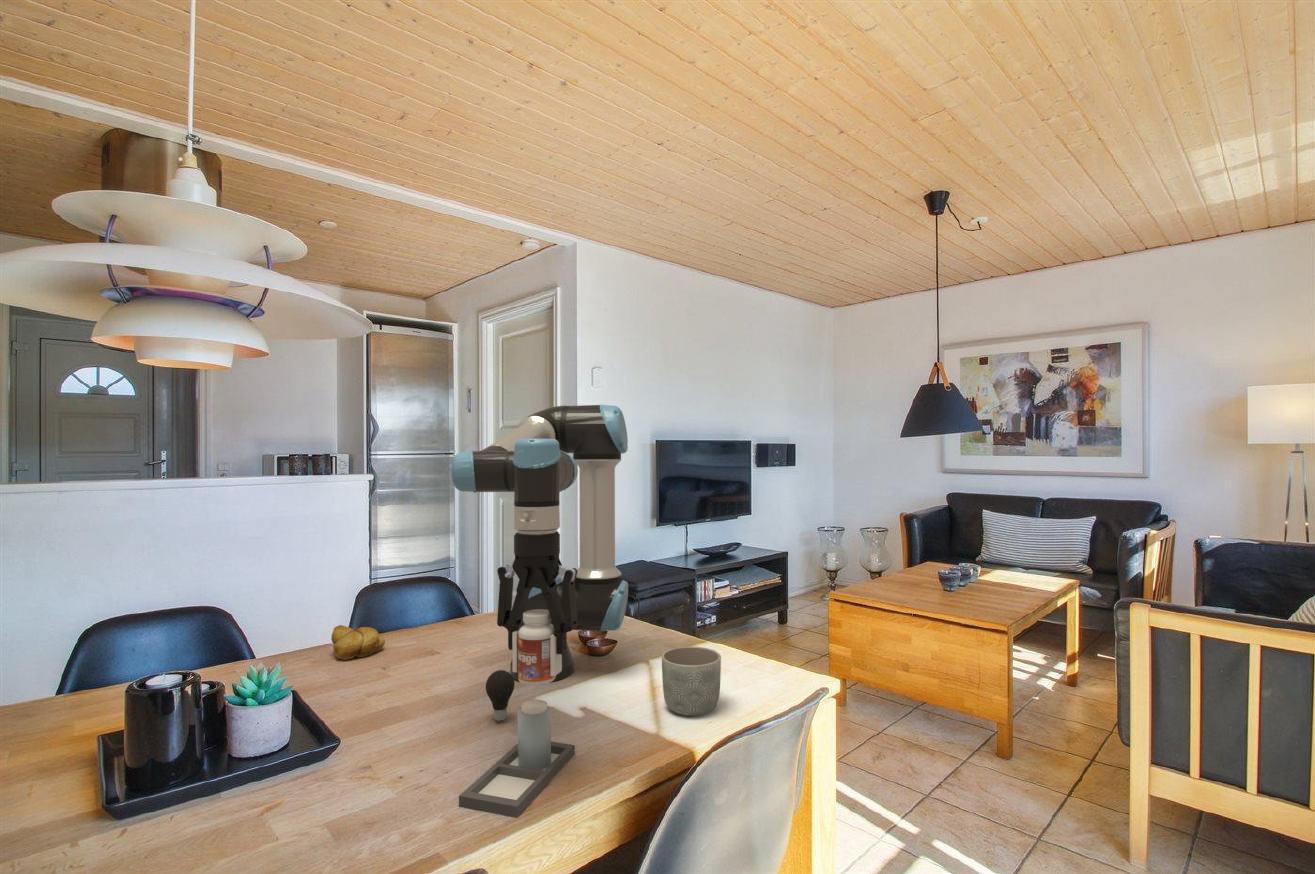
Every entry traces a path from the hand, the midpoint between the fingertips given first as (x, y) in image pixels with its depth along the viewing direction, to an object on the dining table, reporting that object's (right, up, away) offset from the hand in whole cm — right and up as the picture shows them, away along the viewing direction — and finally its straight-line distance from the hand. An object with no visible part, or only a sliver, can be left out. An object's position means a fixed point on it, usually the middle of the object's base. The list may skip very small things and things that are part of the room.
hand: (537, 671), depth 104 cm
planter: (+27, -18, +27) cm, 42 cm away
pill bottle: (0, -2, 0) cm, 2 cm away
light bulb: (-11, -18, +21) cm, 30 cm away
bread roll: (-59, -19, +63) cm, 88 cm away
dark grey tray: (-3, -18, 0) cm, 18 cm away
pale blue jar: (-1, -18, +4) cm, 18 cm away
